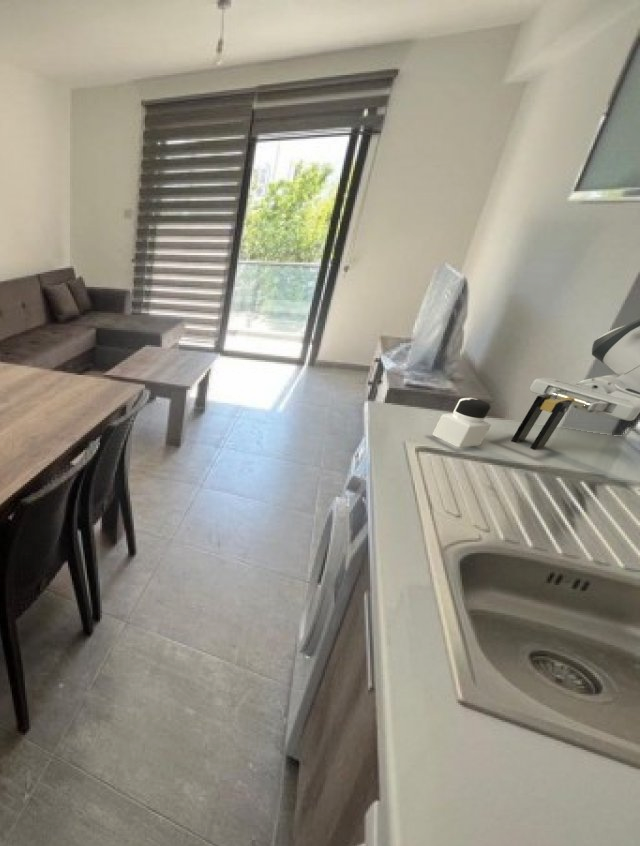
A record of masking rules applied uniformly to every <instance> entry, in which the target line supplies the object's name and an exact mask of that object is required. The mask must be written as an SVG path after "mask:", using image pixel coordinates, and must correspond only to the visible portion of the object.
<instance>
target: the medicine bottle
mask: <svg viewBox="0 0 640 846" xmlns="http://www.w3.org/2000/svg"><path fill="white" fill-rule="evenodd" d="M490 409H491V405H490V404H489V403H487V402H486V401H484V400H481V399H478V398H474V397H463V398H460V399H459V400H458V402H457V404H456V405H455V407H454V410H453V412H452V413H443V414H441V415H440V418H439V420H438V422H437V424H436V427H435V428H434V430H433V432H432V436H433V437H436V438H438V439H440V440H442V441H444V442H446V443H449V444H451V445H453V446H455V447H457V448H469V447H478V446H481V444H482V442H483V440H484V439H485V437H486V435H487V433H488V431H489V430H490V428H491V425H492V424H491V423H489V422H486V421H484V420H485V419H486V417H487V415H488V413H489V411H490Z"/></svg>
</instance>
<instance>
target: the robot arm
mask: <svg viewBox="0 0 640 846" xmlns="http://www.w3.org/2000/svg"><path fill="white" fill-rule="evenodd" d="M591 356H593V357H594V358H596V359H597V360H598V361H600V363H602V364H605V365H606V366H607V367H608V368H609V369H610V370H611V371H612V372H614V373H615V374H607V375H602V376H597V377H591V378H586V379H583V380H581V381H579V382H576V383H573V382H569V381H567V380H563V379H558V378H553V377H539V378H535V379H534V380H533V382H532V383H531V384H530V387H529V389H528V390H529V391H530V392H531V393H534V394H537V395H544V394H549V395H552V396H551V397H550V399H555V400H560V399H558V398H556V396H557V395H558V393H563V394H567V395H570V396H574V397H577V398H581V399H584V400H588V401H587V402H586V403H585V404H584V406H582V405H579V404H575V403H572V404H571V406H572V407H574V408H575V409H577V410H578V411H580V412H584V413H595V414H600V415H607V416H610V417H613V418H616V419H620V420H624V421H626V422H627V421H628V422H631V421H634V420H635V419H637V417H638V416H639V414H640V318H638V319H637V320H635V321H632V322H630V323H627V324H625V325H622V326H619V327H617V328H614V329H612V330H609V331H607V332H605V333H603V334H602V335H600V336H599V337H597V338H596V339H595V340H594V341H593V344H592V347H591Z"/></svg>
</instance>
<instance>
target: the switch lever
mask: <svg viewBox="0 0 640 846" xmlns="http://www.w3.org/2000/svg"><path fill="white" fill-rule="evenodd" d="M556 398H558V399H560V400H557V399H547V400H545V401H544V403H543V404H542V406H541V408H540V409H541V410H543V411H544V412H548V413H552V412H553V410H554V409H555V407H556V405H557V404H558V402H561V401H565V400H570V401H573V402H572V403H575V404H579V405H582V406H584V404H585V403H586V402H587V401H588V400H584V399H581V398H577V397H574V396H570V395H567V394H563V393H558V395H557V396H556Z"/></svg>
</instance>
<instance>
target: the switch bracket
mask: <svg viewBox="0 0 640 846" xmlns="http://www.w3.org/2000/svg"><path fill="white" fill-rule="evenodd" d="M551 396H552V395H549V394H544V395H540V394H538V395H537V396H536V398H535V399H534V400H533V403H532V404H531V406H530V408H529V409H528V411H527V413H526V415H525V416H524V417H523V420H522V422H521V423H520V425H519V426H518V428H517V430H516V432H515V433H514V435H513V436H512V438H511V440H510V442H512V443H515V444H516V443H520V442H524V441H526V439H527V437H528V435H529V434H530V432H531V430H532V428H533V427H534V425H535V424H536V422H537V421H538V419H539V417H540V416H541V414H542V412H543V411H544V410H541V409H540V408H541V406H542V404H543V403H544V401H545V400H547V399H550V397H551ZM572 402H573V401H570V400H565V401H561V402H558V404H557V405H556V407H555V409H554V410H553V412H550V415H549V416H548V418H547V419H546V421H545V423H544V425H543V426H542V428H541V429H540V431H539V433H538V434H537V436H536V438H535V439H534V441H533V442H532V444H531V446H530V449H531V450H533V451H536V450H539V449H543V448H545V446H546V445H547V443H548V442H549V440H550V438H551V437H552V435H553V434H554V432H555V430H556V429H557V427H558V426H559V424H560V422H561V421H562V419H563V418H564V416H565V415H566V414H567V412H568V411H569V409H570V406H572Z"/></svg>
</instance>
